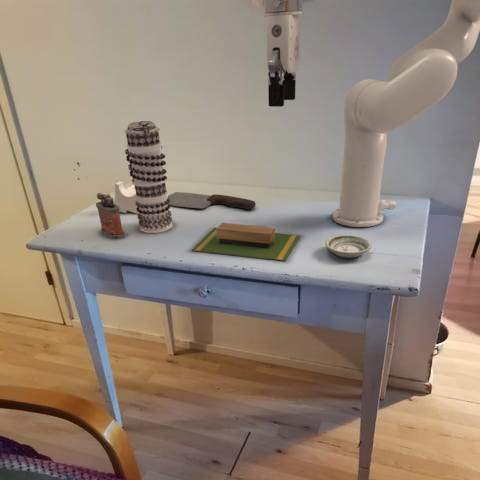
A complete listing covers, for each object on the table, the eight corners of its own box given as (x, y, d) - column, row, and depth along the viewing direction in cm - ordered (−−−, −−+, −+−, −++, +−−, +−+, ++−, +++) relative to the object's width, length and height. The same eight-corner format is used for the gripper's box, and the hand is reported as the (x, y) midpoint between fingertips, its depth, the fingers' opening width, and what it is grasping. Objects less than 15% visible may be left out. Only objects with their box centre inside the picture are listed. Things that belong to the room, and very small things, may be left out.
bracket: (137, 216, 126) (140, 191, 122) (114, 209, 127) (115, 183, 122) (154, 201, 137) (157, 177, 132) (132, 195, 137) (134, 171, 133)
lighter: (127, 236, 112) (120, 196, 107) (115, 240, 110) (107, 199, 105) (110, 228, 117) (102, 190, 112) (98, 232, 115) (90, 193, 110)
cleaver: (259, 205, 127) (259, 198, 126) (244, 216, 120) (243, 209, 118) (174, 195, 139) (173, 188, 138) (155, 205, 132) (153, 197, 131)
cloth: (300, 236, 107) (300, 235, 107) (285, 261, 96) (285, 260, 96) (214, 228, 114) (214, 227, 114) (191, 251, 103) (191, 249, 103)
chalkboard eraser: (223, 236, 108) (222, 222, 106) (275, 242, 104) (275, 227, 102) (217, 243, 105) (216, 228, 103) (270, 248, 101) (270, 233, 99)
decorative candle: (134, 224, 119) (116, 122, 105) (168, 218, 122) (154, 118, 108) (143, 236, 112) (124, 128, 98) (178, 229, 115) (165, 123, 101)
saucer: (376, 261, 94) (377, 250, 93) (331, 264, 94) (332, 254, 93) (361, 243, 103) (363, 233, 101) (320, 246, 102) (320, 236, 101)
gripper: (291, 4, 80) (289, 109, 90) (311, 6, 94) (307, 97, 103) (251, 7, 83) (253, 109, 92) (276, 8, 96) (276, 97, 105)
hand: (282, 102), depth 98 cm, fingers open, 9 cm apart
